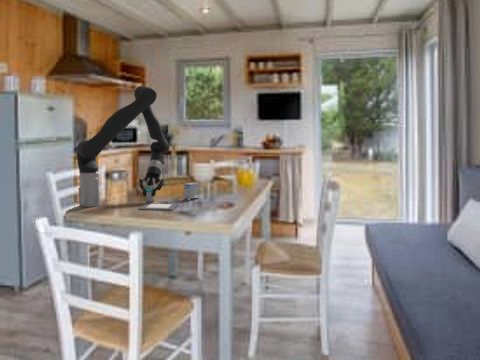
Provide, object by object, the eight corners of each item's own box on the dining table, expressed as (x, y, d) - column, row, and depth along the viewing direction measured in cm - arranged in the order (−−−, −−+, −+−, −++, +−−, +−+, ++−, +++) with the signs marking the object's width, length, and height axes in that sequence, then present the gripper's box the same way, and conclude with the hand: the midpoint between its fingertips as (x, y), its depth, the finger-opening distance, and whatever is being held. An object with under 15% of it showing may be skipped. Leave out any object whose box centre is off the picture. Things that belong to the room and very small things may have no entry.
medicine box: (193, 197, 259) (193, 182, 258) (199, 198, 257) (199, 183, 255) (183, 199, 253) (183, 184, 252) (190, 200, 250) (189, 184, 249)
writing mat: (138, 209, 226) (138, 208, 226) (146, 204, 238) (146, 202, 238) (172, 210, 224) (172, 208, 224) (178, 205, 237) (178, 203, 237)
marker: (144, 203, 242) (144, 188, 241) (147, 201, 246) (146, 186, 245) (152, 203, 242) (152, 188, 240) (154, 201, 246) (154, 187, 245)
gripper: (140, 165, 249) (133, 191, 239) (165, 166, 248) (160, 191, 238) (143, 174, 255) (137, 199, 245) (168, 174, 254) (163, 200, 244)
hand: (148, 195), depth 241 cm, fingers closed on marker, 4 cm apart
